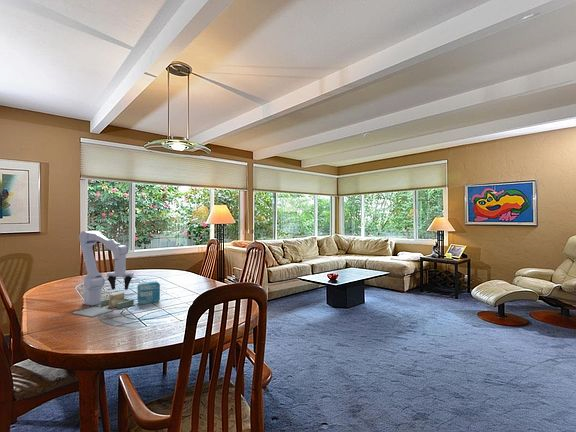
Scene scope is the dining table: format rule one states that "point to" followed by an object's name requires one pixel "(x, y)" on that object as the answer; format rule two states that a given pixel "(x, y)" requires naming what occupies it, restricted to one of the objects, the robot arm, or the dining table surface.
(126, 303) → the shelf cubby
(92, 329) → the dining table surface
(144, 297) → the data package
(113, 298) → the block
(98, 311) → the rubber mat
